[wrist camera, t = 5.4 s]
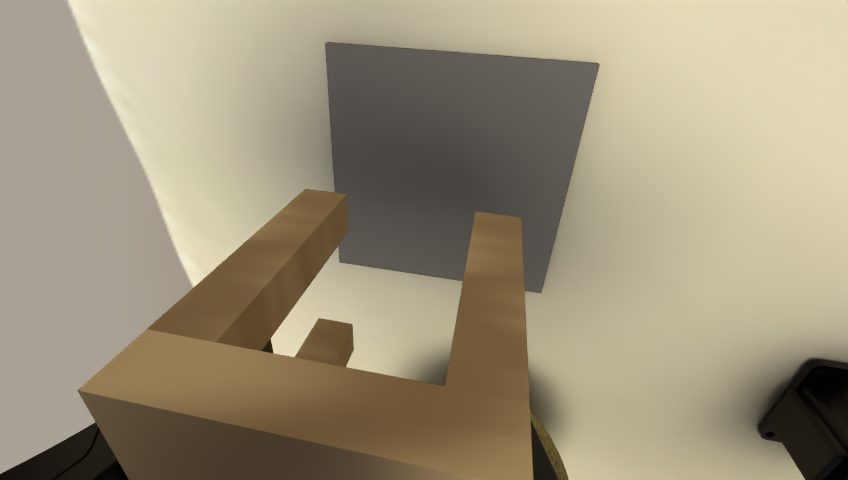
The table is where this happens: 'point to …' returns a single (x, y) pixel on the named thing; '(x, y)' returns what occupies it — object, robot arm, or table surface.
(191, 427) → the stool
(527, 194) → the mat
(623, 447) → the table surface
